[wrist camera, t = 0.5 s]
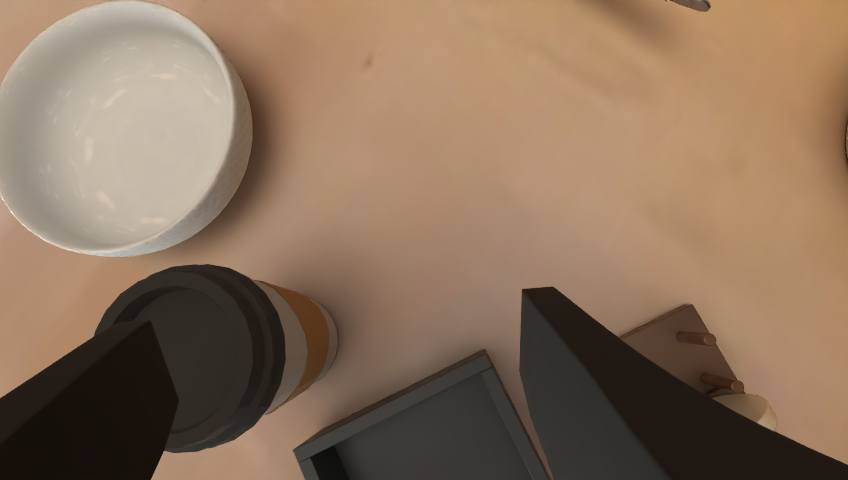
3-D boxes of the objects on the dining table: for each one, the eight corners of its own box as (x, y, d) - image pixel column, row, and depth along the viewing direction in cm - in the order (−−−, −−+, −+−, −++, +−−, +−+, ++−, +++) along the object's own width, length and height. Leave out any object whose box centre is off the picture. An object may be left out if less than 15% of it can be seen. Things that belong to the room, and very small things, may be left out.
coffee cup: (216, 336, 37) (40, 350, 22) (302, 257, 37) (185, 219, 23) (288, 428, 36) (152, 508, 21) (378, 345, 36) (306, 366, 21)
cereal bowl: (313, 202, 38) (275, 177, 31) (112, 303, 38) (31, 301, 31) (227, 13, 41) (175, -49, 34) (42, 110, 41) (-46, 68, 34)
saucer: (733, 399, 32) (811, 424, 24) (621, 453, 32) (664, 495, 25) (725, 385, 32) (800, 406, 25) (613, 440, 32) (654, 477, 25)
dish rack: (781, 468, 32) (839, 497, 27) (646, 533, 32) (677, 574, 27) (685, 304, 34) (721, 302, 29) (558, 367, 34) (572, 375, 29)
